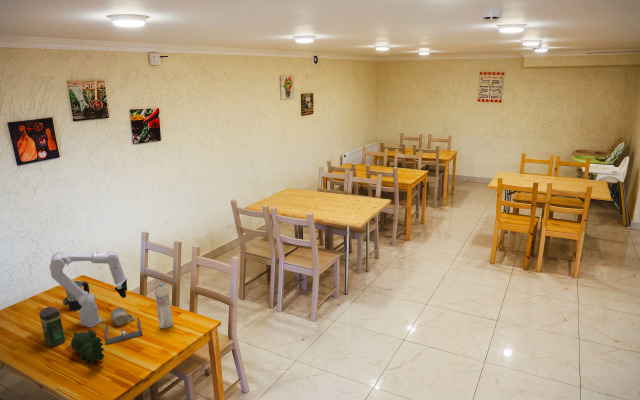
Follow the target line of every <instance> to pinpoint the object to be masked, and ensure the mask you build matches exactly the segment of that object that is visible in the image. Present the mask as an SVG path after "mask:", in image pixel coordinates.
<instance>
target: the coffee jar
mask: <svg viewBox="0 0 640 400" xmlns="http://www.w3.org/2000/svg"><path fill="white" fill-rule="evenodd" d="M61 317H62V316H61V312H60V310H59V309H58V308H56V307H53V306H48V307H45V308H42V309H41V310H39V320H40V323H41V327H42V332H43V338H44V343H46V344H47V345H48V346H49V347H55V346H60V345H61V344H62V343H64V342H65V341H66V336H65V331H64V328H63V323H62V318H61Z"/></svg>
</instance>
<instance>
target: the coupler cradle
mask: <svg viewBox="0 0 640 400" xmlns="http://www.w3.org/2000/svg"><path fill="white" fill-rule="evenodd" d="M136 319H137V325H138V329H139V330H137V331H132V332H128V333H127V330H126V329H123V330H122V331H120V334H121V335H120V334H119V335H117V336H113V337H109V330H108V325H107V324H106V325H104V329H105V330H104V333H105V334H104V335H105V343H106V345H111V344H113V343H117V342H121V341H124V340H130V339H132V338H136V337H141V336H143V330H142V325H141V321H140V316H139V317H138V316H137V317H136Z"/></svg>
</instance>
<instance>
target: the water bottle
mask: <svg viewBox="0 0 640 400" xmlns="http://www.w3.org/2000/svg"><path fill="white" fill-rule="evenodd" d="M154 295H155V302H156V311H157V318H158V324H159V328H160V329H163V330H165V329H166V330H167V329H169V328H172V327H173V324H174V322H173V316H172V315H173V314H172V308H171V302H170V301H171V300H170V293H169V289H168V288H167V287H166V286H164V285H163V283H162V282H160V283H159V284H158V287H157V288H156V289H155V291H154Z"/></svg>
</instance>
